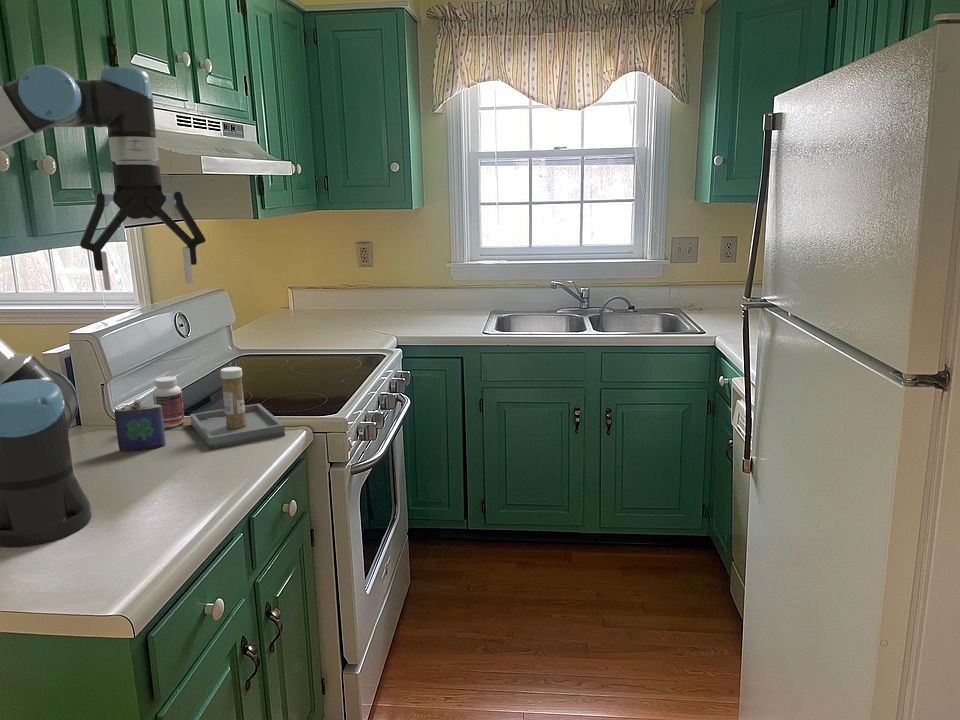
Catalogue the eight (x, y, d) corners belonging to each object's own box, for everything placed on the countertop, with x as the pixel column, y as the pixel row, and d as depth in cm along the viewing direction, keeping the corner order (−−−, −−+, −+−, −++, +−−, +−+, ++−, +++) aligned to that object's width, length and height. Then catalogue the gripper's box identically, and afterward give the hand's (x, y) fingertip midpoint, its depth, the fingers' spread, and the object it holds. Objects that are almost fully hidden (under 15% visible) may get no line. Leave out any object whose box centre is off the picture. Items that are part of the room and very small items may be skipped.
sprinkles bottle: (249, 426, 171) (244, 369, 168) (228, 430, 169) (223, 371, 166) (243, 421, 175) (238, 365, 172) (223, 425, 173) (217, 367, 169)
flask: (166, 443, 164) (160, 395, 162) (166, 447, 162) (160, 399, 159) (119, 448, 161) (113, 400, 158) (118, 453, 158) (112, 404, 156)
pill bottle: (190, 422, 178) (185, 377, 175) (167, 430, 173) (162, 383, 170) (173, 418, 181) (168, 374, 179) (150, 425, 176) (145, 380, 174)
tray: (210, 449, 160) (209, 438, 159) (191, 424, 177) (190, 414, 176) (285, 435, 168) (284, 424, 167) (259, 413, 185) (259, 403, 184)
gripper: (54, 163, 121) (72, 294, 126) (215, 163, 134) (225, 283, 139) (52, 164, 128) (69, 289, 132) (205, 164, 140) (216, 278, 145)
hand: (149, 286), depth 136 cm, fingers open, 13 cm apart
